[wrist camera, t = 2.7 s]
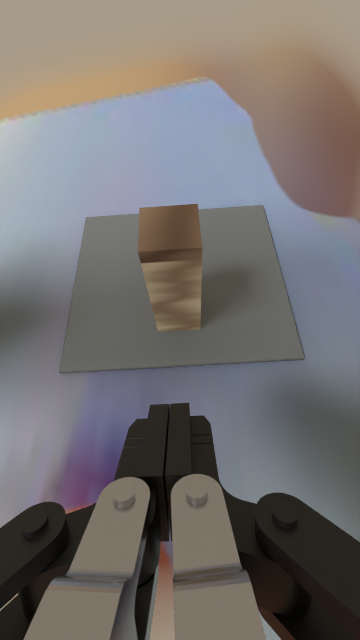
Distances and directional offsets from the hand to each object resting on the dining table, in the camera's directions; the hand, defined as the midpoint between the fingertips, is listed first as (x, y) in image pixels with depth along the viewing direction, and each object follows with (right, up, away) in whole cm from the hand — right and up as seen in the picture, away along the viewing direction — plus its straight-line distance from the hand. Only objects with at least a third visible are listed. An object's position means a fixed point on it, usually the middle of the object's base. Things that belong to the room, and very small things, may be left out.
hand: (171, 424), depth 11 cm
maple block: (0, +5, +20) cm, 21 cm away
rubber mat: (0, +9, +23) cm, 24 cm away
